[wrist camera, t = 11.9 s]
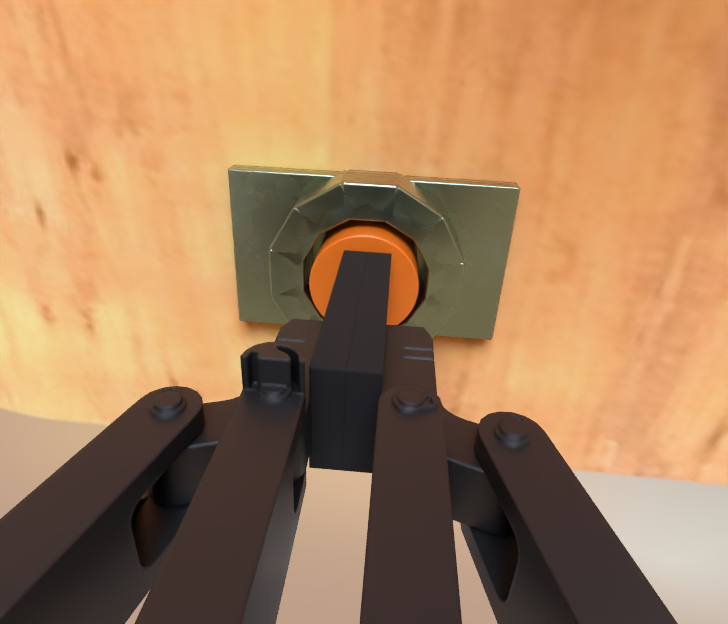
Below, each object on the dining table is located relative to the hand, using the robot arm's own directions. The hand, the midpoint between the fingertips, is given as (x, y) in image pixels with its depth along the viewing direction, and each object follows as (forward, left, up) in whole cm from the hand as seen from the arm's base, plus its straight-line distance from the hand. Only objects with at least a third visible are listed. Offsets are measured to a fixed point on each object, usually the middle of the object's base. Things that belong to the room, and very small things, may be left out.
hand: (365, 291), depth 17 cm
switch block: (0, 0, -3) cm, 3 cm away
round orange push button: (0, 0, -2) cm, 2 cm away
